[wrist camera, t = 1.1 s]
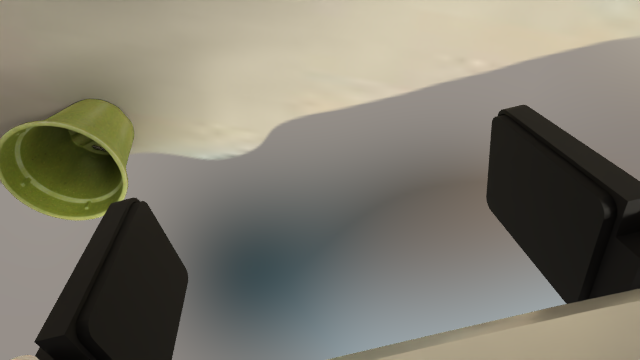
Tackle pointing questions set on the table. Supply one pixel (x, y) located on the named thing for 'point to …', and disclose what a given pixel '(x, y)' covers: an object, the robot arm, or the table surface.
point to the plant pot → (69, 160)
